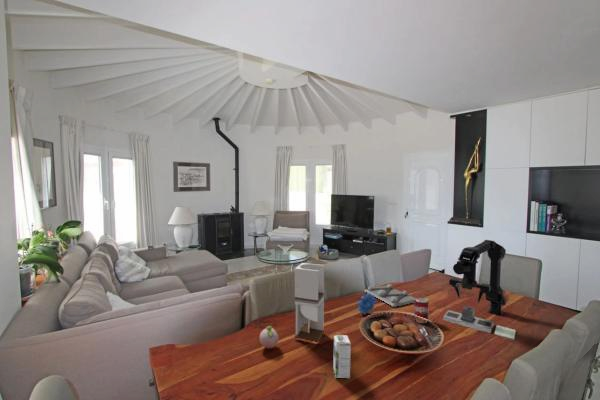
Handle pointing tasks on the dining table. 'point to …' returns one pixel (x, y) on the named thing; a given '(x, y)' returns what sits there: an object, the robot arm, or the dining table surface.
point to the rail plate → (478, 322)
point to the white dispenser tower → (309, 301)
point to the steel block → (468, 314)
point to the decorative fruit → (269, 337)
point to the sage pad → (505, 332)
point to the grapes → (366, 303)
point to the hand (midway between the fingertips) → (468, 300)
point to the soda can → (421, 307)
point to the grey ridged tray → (391, 295)
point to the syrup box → (341, 356)
